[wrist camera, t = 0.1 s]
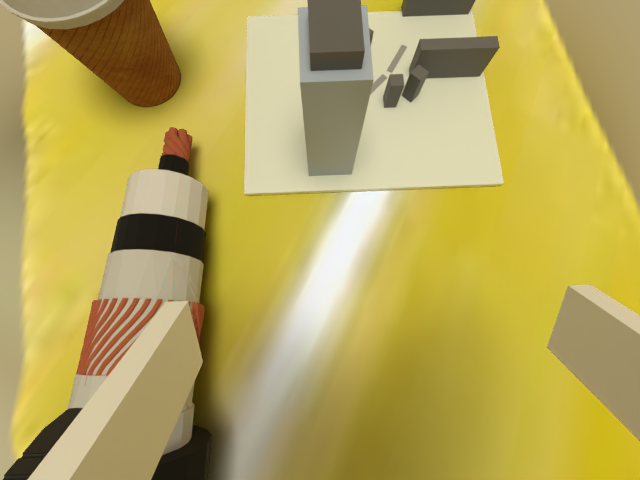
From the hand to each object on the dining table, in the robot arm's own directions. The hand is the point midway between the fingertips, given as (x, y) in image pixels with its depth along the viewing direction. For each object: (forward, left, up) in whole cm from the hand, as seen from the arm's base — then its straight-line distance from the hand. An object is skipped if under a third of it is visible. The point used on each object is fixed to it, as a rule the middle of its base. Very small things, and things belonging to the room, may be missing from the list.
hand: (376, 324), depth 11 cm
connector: (+15, +1, -15) cm, 21 cm away
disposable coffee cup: (+24, +19, -16) cm, 34 cm away
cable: (-1, +15, -16) cm, 22 cm away
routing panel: (+21, -3, -15) cm, 26 cm away
